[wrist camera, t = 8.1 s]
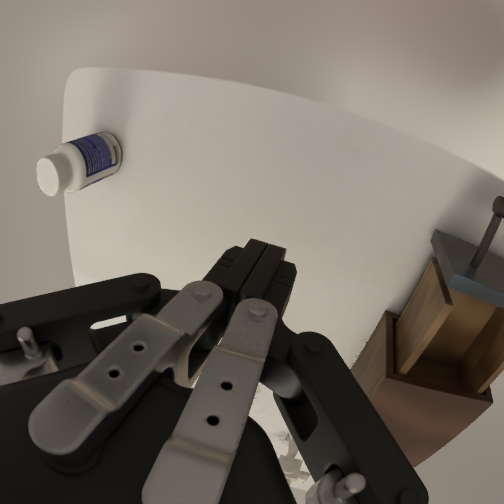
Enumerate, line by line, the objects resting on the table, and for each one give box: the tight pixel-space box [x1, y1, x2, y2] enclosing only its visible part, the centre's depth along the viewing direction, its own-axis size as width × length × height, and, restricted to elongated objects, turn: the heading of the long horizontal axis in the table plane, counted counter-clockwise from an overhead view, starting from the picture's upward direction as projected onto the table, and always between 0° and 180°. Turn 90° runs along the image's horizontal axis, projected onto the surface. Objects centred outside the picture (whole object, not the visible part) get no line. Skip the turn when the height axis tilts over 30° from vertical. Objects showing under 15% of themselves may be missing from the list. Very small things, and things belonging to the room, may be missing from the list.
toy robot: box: [278, 433, 311, 485], centre depth 41 cm, size 4×8×12 cm, turn 83°
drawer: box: [393, 196, 504, 395], centre depth 22 cm, size 19×11×7 cm, turn 169°
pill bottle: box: [36, 132, 121, 196], centre depth 28 cm, size 5×5×9 cm
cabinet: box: [350, 311, 493, 467], centre depth 29 cm, size 15×13×9 cm
